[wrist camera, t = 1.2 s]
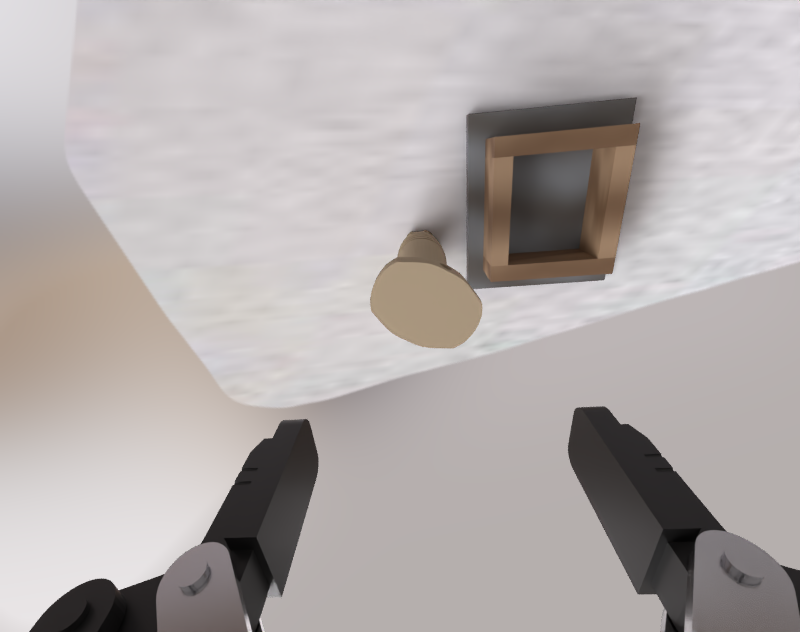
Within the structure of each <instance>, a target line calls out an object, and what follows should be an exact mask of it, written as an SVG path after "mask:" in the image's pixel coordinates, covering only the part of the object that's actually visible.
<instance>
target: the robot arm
mask: <svg viewBox="0 0 800 632" xmlns="http://www.w3.org/2000/svg"><path fill="white" fill-rule="evenodd" d="M568 453H569V459H570V463H571V465H572V468H573V470H574V472H575V474H576V476H577V478H578V480H579V482H580V483H581V485H582V487H583V489H584V491H585V493H586V495H587V497H588V499H589V501H590V503H591V505H592V507H593V508H594V510H595V512H596V514H597V516H598V518H599V520H600V522H601V524H602V526H603V528H604V530H605V532H606V534H607V536H608V537H609V539H610V541H611V543H612V545H613V547H614V549H615V551H616V553H617V555H618V557H619V559H620V561H621V562H622V564H623V566H624V568H625V570H626V572H627V574H628V576H629V578H630V580H631V582H632V584H633V586H634V588H635V590H636V592H637V593H638V594H657V595H658V597H659V599H660V600H661V602H662V604H663V606H664V610H663V614H662V621H661V631H660V632H800V570H796V569H792V568H788V567H785V566H782V565H779V563H778V562H776V560H775V559H774V558H772V557H771V556H770V555H769V554H768V553H766V552H765V551H764V550H763V549H761V548H760V547H758V546H757V545H755V544H753V543H752V542H750V541H748V540H746V539H744V538H742V537H740V536H738V535H735V534H732V533H729V532H727V531H726V530H725V529H724V528H723V527H722V526H721V525H720V524H719V522H718V521H717V520H716V519H715V518H714V517H713V515H712V514H711V513H710V512H709V511H708V509H707V508H706V507H705V506H704V505H703V503H702V502H701V501H700V500H699V499H698V497H697V496H696V495H695V494H694V493H693V491H692V490H691V489H690V488H689V487H688V485H687V484H686V483H685V482H684V481H683V480H682V478H681V477H680V476H679V475H678V474H677V472H676V471H673V468H672V466H671V465H670V464H669V463H668V462H667V460H666V459H665V458H664V457H662V456H661V453H660V452H659V451H658V450H657V449H656V447H655V446H654V445H653V444H652V443H651V442H650V440H649V439H648V438H647V437H645V436H644V435H643V434H642V433H640V432H639V431H637V430H636V429H634V428H633V427H632V426H630V425H629V424H622V425H621V424H620V423H619V422H618V421H617V419H616V418H615V417H614V416H613V414H612V413H611V412H610V411H609V410H608V409H607V408H606V407H581V408H576V409H575V411H574V415H573V421H572V426H571V433H570V438H569V445H568ZM317 473H318V454H317V450H316V446H315V442H314V438H313V434H312V430H311V426H310V423H309V421H308V420H307V419H303V420H302V419H301V420H283V421H282V422H281V423H280V424H279V426H278V429H277V430H276V432H275V434H274V436H273V438H270V439H264V440H263V441H262V442H261V443H260V444H259V445H258V446H256V447H255V448H254V449H253V450H252V452H251V453H250V454H249V456H248V458H247V460H246V462H245V464H244V465H243V467H242V471H241V472H240V473H239V475H238V477H237V478H236V480H235V484H234V485H233V486H232V488H231V490H230V491H229V493H228V495H227V497H226V499H225V501H224V503H223V504H222V506H221V508H220V510H219V512H218V514H217V516H216V517H215V519H214V521H213V523H212V525H211V527H210V529H209V530H208V532H207V534H206V536H205V538H204V540H203V541H202V543H201V544H200V545H198V546H195V547H193V548H191V549H190V550H188V551H187V552H185V553H184V554H183V555H181V556H180V557H179V558H178V559H177V560H176V561H175V562H174V563H173V564H172V565H171V566H170V567H169V569H168V570H167V572H166V573H165V574H163V575H161V576H158V577H155V578H153V579H150V580H147V581H144V582H142V583H138V584H136V585H133V586H130V587H127V588H124V589H122V590H118V589H117V588H116V587H115V585H114V584H113V583H112V582H111V581H110V580H107V579H95V580H91V581H88V582H85V583H83V584H81V585H79V586H77V587H75V588H74V589H72V590H70V591H69V592H67V593H66V594H65V595H63V596H62V597H61V598H59V600H57V601H56V602H55V603H54V604H53V605H51V606H50V607H49V608H48V609H47V611H46V612H45V613H44V614H43V615H42V616H41V617H40V619H39V620H38V621H37V622H36V623H35V625H34V626H33V628H32V629H31V630H30V631H29V632H265V631H264V627H263V623H262V621H261V617H260V616H261V613H262V610H263V607H264V603H265V600H266V597H282V594H283V591H284V587H285V584H286V581H287V577H288V573H289V570H290V567H291V563H292V560H293V557H294V553H295V550H296V546H297V542H298V539H299V536H300V532H301V529H302V525H303V522H304V519H305V515H306V512H307V508H308V505H309V502H310V498H311V495H312V491H313V487H314V484H315V481H316V477H317Z"/></svg>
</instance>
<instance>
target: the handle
mask: <svg viewBox="0 0 800 632" xmlns="http://www.w3.org/2000/svg"><path fill="white" fill-rule="evenodd" d="M370 303H371V311H372V312H373V314H374V315H375V316H376V317H377V318H378V319H379V321H380V322H381V323H382V324H383V325H384V326H385V327H386V328H387V329H388V330H389V331H390V332H392V333H393V334H394V335H396V336H398V337H400V338H402V339H404V340H407V341H409V342H411V343H413V344H416V345H419V346H422V347H428V348H455V347H457V346H459V345H461V344H462V343H464V342H465V341H466V340H467V339H468V338H469V337H470V336H471V335H472V334H473V332H474V331H475V330H476V328H477V326H478V324H479V322H480V319H481V316H482V303H481V300H480V299H479V297H478V296H477V294H476V293H475V291H474V290H473V289H472V287H471V286H470V285H469V283H468V282H467V281H466V280H465V278H464V277H463V276H462V275H461V274H460V273H459V272H457V271H456V270H454V269H453V268H451V267H449V266H448V265H447V263H446V257H445V253H444V251H443V248H442V246H441V245H440V243H439V242H438V240H437V239H436V238H435V237H434V236H432V234H431V233H430V232H429V231H427V230H424V231H422V232H421V231H420V232H413V231H412V232H410V233H409V234H408V235H407V237H406V239H405V240H404V241H403V243H402V244H401V246H400V249H399V252H398V257H397V258H395V259H393V260H392V261H390V262H389V263H388V264H386V265H385V267H384V268H383V269H382V270H381V272H380V273H379V275H378V277H377V278H376V281H375V283H374V286H373V289H372V293H371V298H370Z"/></svg>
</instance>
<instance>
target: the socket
mask: <svg viewBox="0 0 800 632" xmlns="http://www.w3.org/2000/svg"><path fill="white" fill-rule="evenodd" d="M636 99H637V98H627V99H617V100H607V101H597V102H587V103H577V104H567V105H557V106H547V107H537V108H527V109H517V110H507V111H497V112H487V113H477V114H468V115H467V282H468V283H469V285H470V286H471V287H472V289H481V288H496V287H511V286H525V285H540V284H554V283H569V282H584V281H598V280H604V279H605V274H612V272H613V267H614V262H615V256H616V251H617V246H618V240H619V235H620V229H621V224H622V219H623V213H624V208H625V203H626V197H627V192H628V187H629V181H630V176H631V170H632V165H633V160H634V154H635V149H636V144H637V138H638V133H639V127H640V123H636V124H632V121H633V116H634V110H635V104H636Z"/></svg>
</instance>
